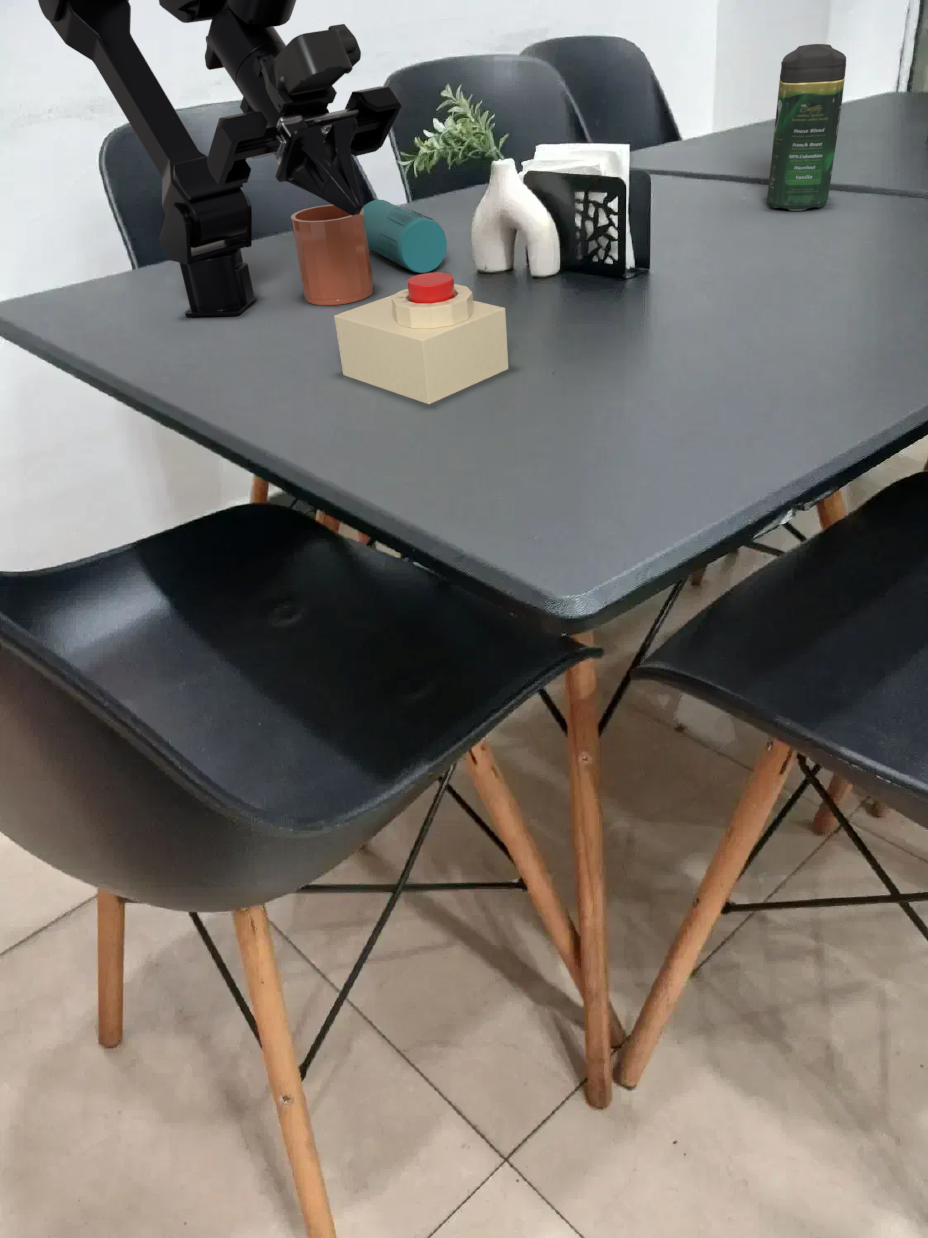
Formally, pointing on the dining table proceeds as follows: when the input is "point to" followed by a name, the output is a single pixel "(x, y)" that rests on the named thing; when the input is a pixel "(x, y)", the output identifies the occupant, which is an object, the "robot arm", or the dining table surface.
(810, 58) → the coffee jar
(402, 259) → the beverage bottle
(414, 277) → the power button
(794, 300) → the dining table surface
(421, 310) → the red push button box
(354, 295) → the terracotta cup
